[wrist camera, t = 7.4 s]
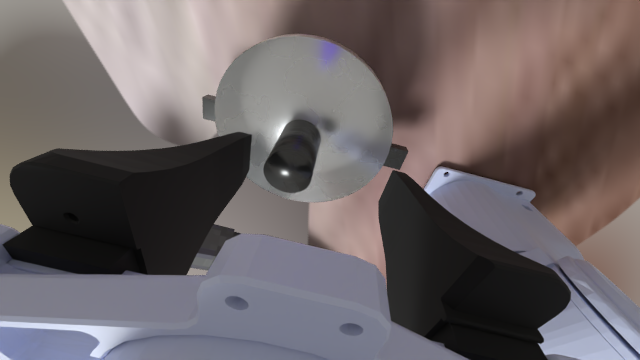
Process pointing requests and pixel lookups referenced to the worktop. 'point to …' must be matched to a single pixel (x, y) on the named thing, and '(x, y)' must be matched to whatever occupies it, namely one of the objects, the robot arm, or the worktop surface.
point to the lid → (306, 116)
